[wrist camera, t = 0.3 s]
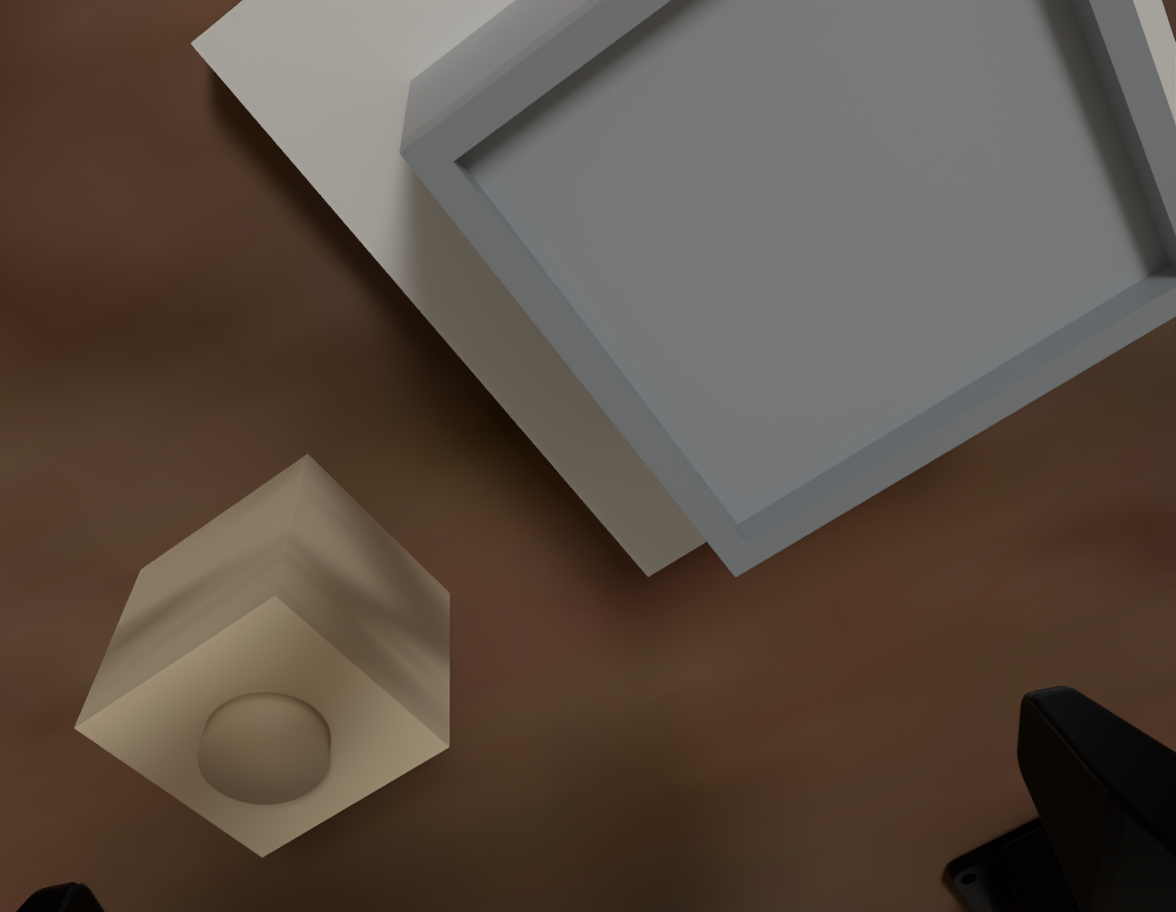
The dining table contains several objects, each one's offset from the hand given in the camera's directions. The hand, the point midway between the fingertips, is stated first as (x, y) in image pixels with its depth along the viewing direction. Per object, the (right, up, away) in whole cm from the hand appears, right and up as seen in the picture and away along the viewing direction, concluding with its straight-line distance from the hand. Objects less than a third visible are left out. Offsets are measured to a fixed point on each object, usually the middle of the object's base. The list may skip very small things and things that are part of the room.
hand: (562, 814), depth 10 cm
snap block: (-7, 0, +15) cm, 16 cm away
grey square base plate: (+3, +10, +10) cm, 14 cm away
